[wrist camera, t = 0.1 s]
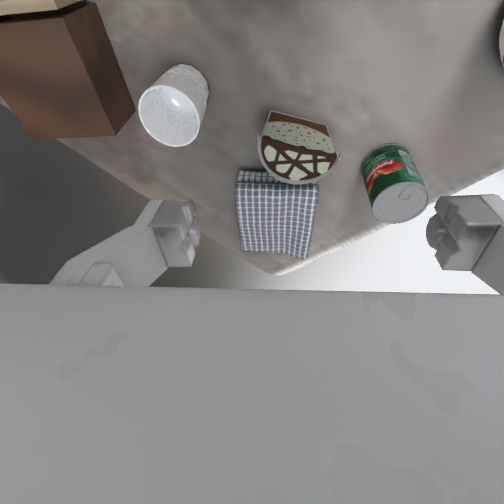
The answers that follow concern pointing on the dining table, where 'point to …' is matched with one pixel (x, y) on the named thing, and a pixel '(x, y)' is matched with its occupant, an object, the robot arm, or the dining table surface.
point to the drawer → (32, 7)
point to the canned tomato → (393, 184)
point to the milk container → (501, 44)
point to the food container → (296, 148)
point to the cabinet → (62, 74)
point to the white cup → (175, 106)
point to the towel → (275, 214)
